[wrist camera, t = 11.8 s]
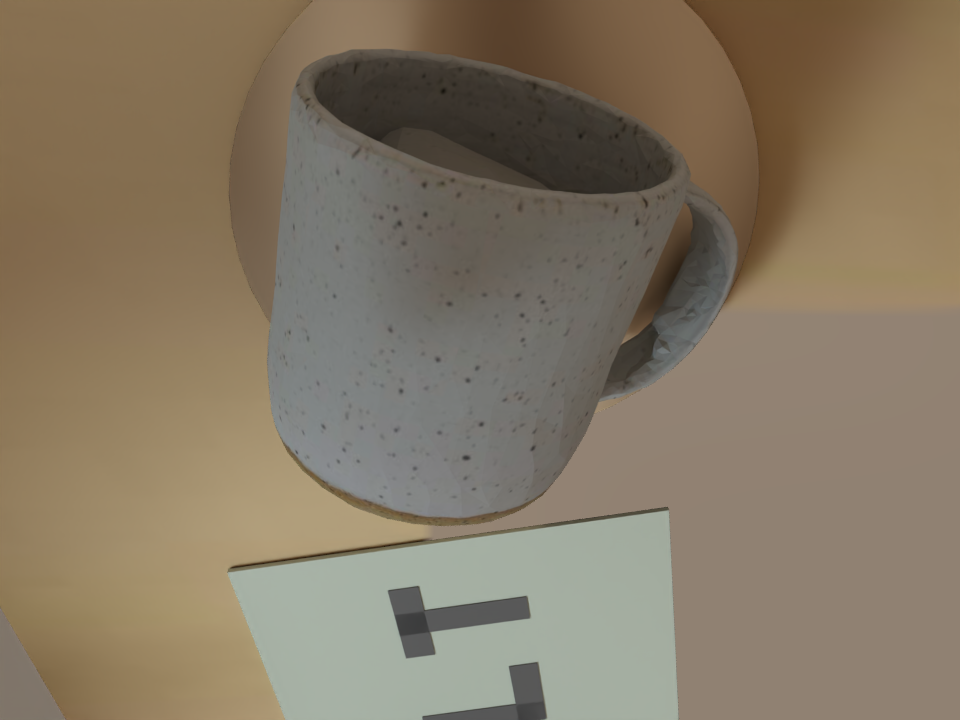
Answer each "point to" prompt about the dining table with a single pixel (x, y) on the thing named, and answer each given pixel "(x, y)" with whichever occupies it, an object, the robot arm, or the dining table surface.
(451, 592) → the plate
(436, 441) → the ceramic mug
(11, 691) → the robot arm
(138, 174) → the dining table surface
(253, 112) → the coaster
